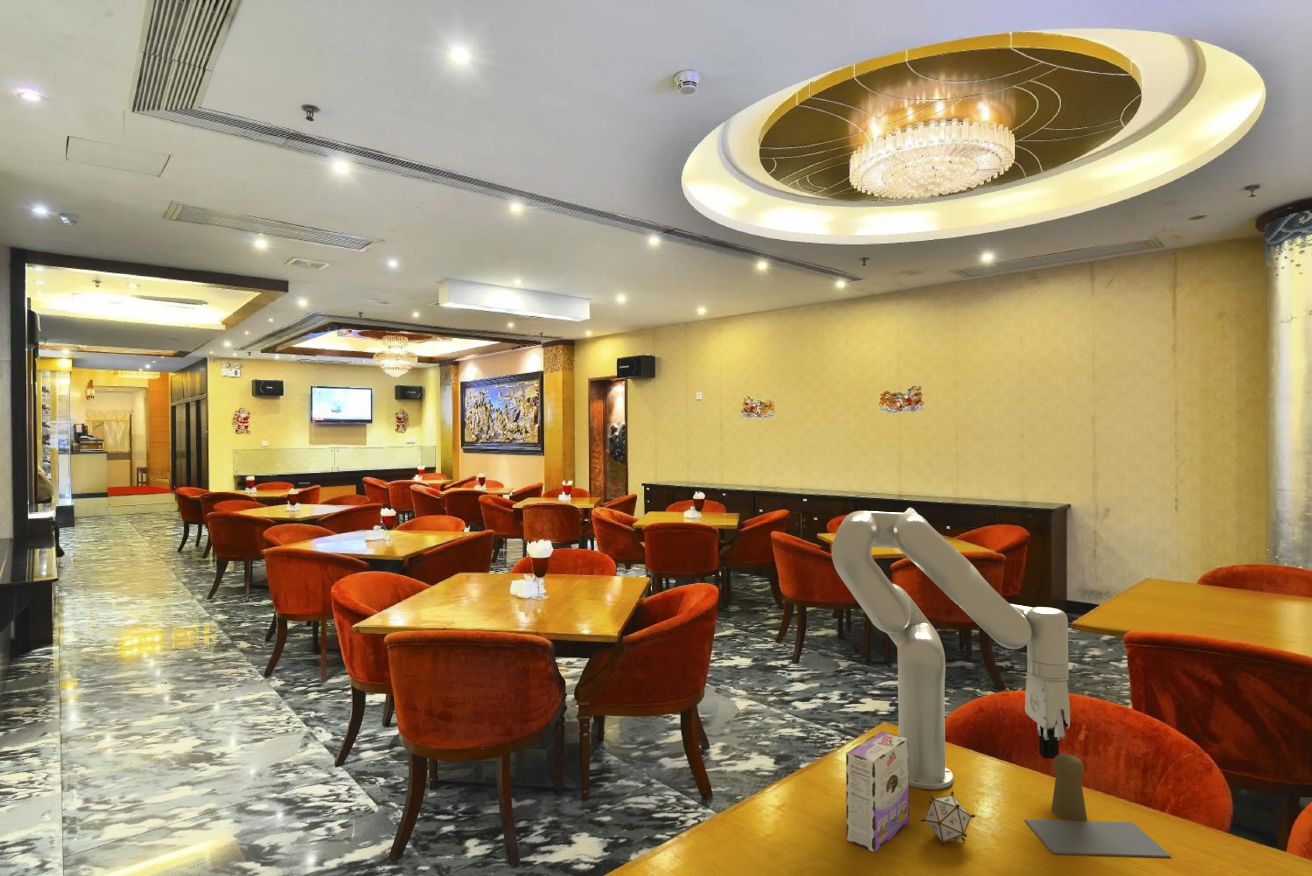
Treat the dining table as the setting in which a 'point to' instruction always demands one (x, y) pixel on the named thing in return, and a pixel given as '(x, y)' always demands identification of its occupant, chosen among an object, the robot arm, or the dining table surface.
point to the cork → (1068, 788)
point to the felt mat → (1095, 838)
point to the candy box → (877, 790)
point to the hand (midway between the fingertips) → (1048, 756)
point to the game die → (947, 818)
